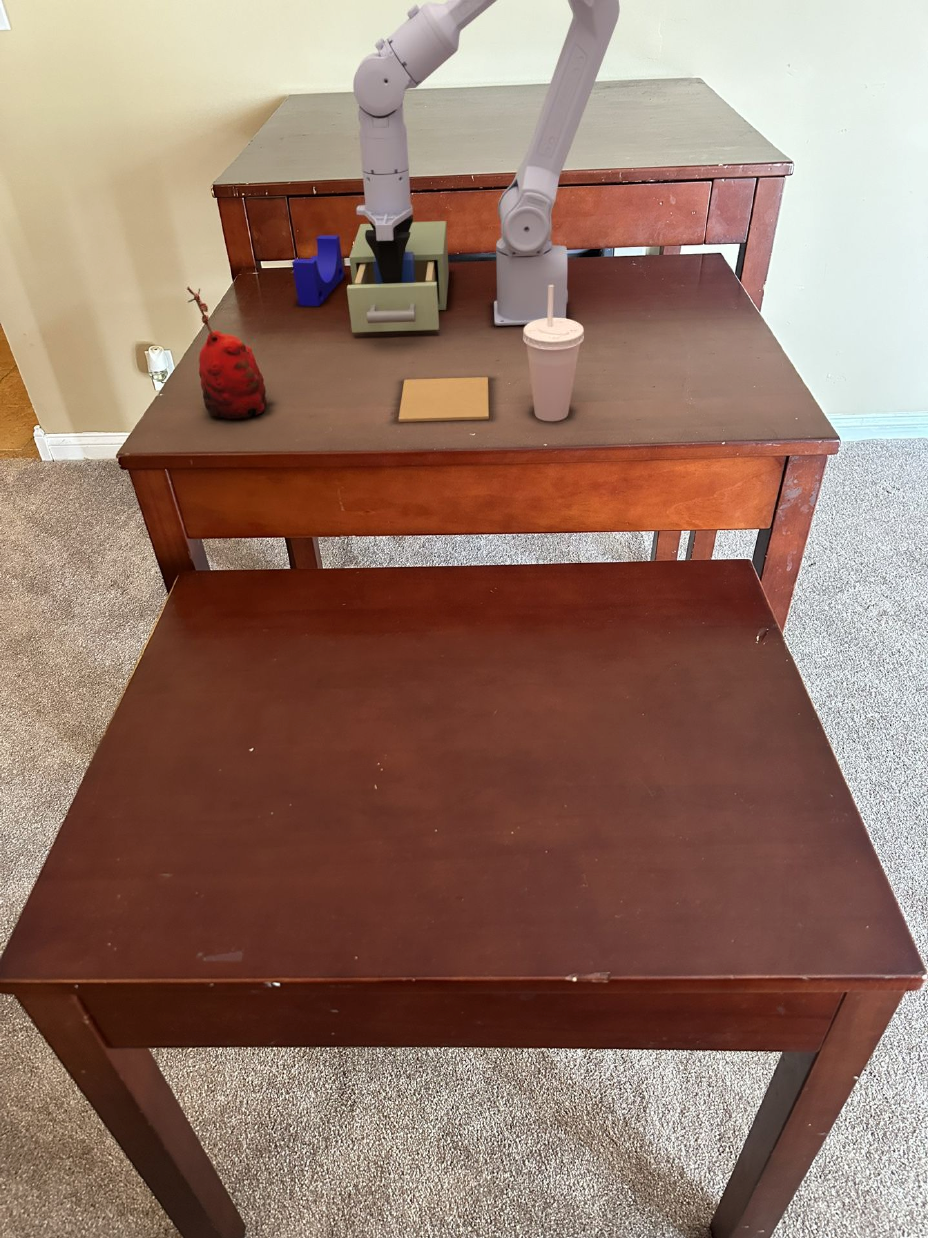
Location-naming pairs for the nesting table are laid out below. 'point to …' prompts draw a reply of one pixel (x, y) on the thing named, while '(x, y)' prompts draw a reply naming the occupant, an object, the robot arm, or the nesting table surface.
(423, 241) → the cabinet
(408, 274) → the blue rectangular block
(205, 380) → the red clay folk toy
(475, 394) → the mat
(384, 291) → the drawer
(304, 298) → the cable clip
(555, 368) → the smoothie
